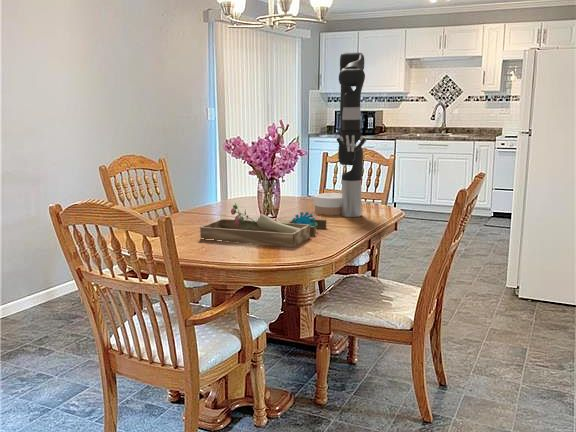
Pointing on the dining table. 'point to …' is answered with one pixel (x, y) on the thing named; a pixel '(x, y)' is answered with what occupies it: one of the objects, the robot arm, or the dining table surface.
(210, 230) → the wooden tray
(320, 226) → the cradle
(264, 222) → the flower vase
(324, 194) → the bowl
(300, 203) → the dining table surface
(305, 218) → the gear
